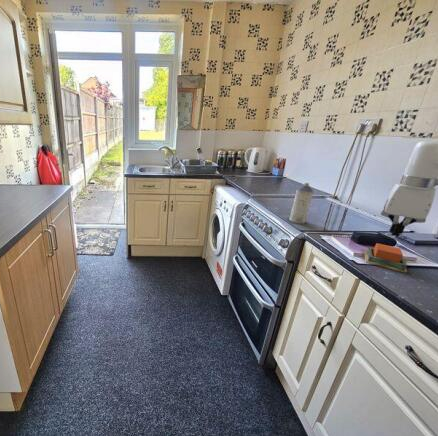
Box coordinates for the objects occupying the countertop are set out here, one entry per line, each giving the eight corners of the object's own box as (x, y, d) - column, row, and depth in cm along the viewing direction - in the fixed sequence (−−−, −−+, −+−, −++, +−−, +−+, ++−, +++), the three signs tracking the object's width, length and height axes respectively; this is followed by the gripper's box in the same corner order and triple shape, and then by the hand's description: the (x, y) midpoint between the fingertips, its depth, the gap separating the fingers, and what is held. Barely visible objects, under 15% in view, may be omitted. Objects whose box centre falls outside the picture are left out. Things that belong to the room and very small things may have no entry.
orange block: (395, 259, 88) (400, 248, 87) (397, 266, 84) (403, 255, 82) (372, 253, 92) (376, 243, 90) (373, 260, 87) (377, 249, 86)
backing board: (401, 261, 89) (404, 254, 88) (406, 274, 81) (409, 267, 80) (363, 252, 95) (366, 245, 94) (364, 263, 87) (367, 256, 86)
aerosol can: (307, 224, 121) (319, 184, 114) (295, 225, 120) (306, 185, 112) (297, 219, 127) (307, 181, 120) (285, 220, 126) (295, 181, 119)
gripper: (449, 184, 76) (423, 237, 83) (384, 176, 84) (365, 225, 91) (456, 188, 70) (428, 245, 77) (387, 180, 79) (366, 232, 86)
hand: (394, 234), depth 84 cm, fingers closed
